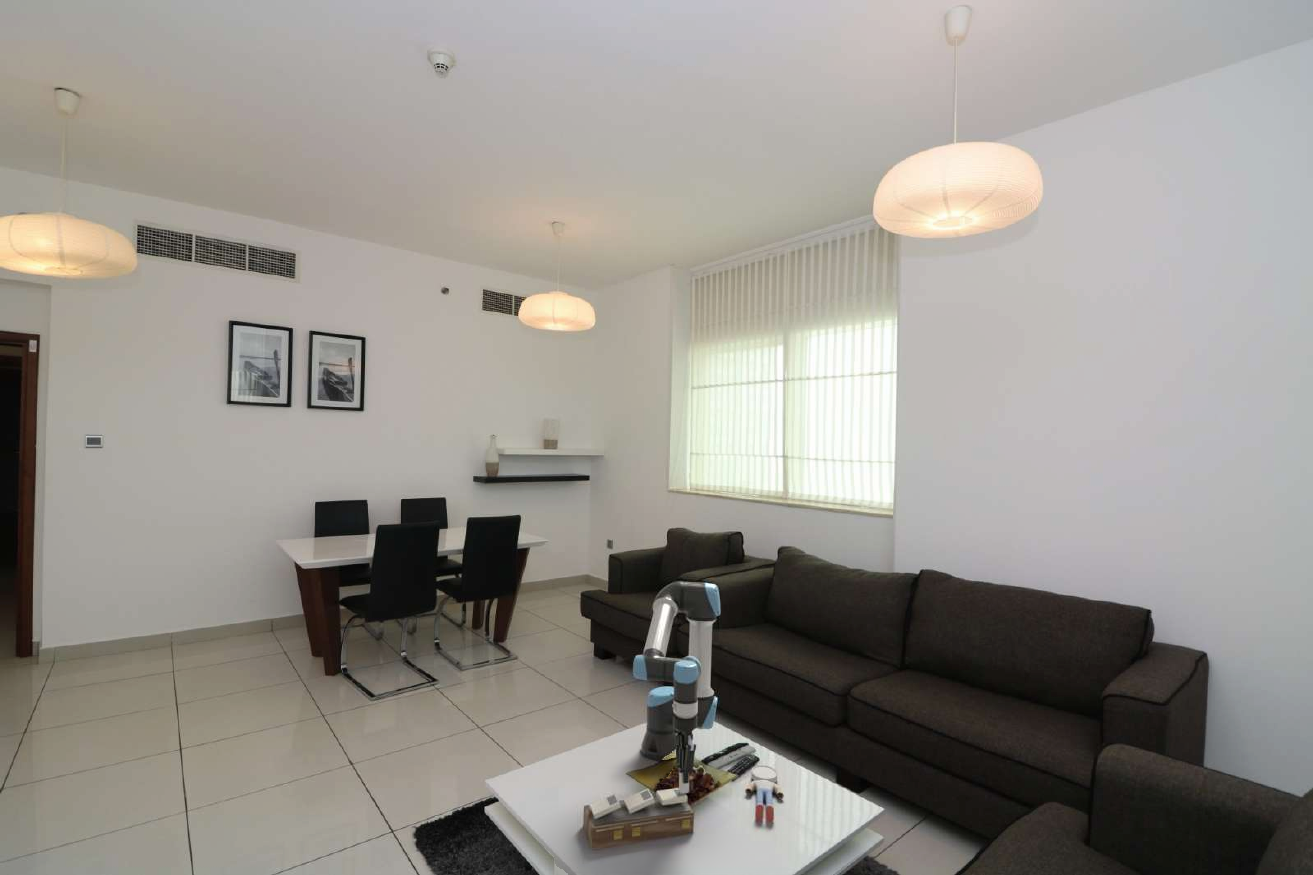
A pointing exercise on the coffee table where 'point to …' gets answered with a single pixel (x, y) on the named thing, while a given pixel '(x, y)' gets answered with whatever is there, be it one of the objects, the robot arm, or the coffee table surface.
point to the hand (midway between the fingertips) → (683, 791)
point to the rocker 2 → (671, 796)
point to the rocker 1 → (605, 806)
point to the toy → (764, 790)
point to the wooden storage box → (638, 824)
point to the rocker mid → (639, 801)
